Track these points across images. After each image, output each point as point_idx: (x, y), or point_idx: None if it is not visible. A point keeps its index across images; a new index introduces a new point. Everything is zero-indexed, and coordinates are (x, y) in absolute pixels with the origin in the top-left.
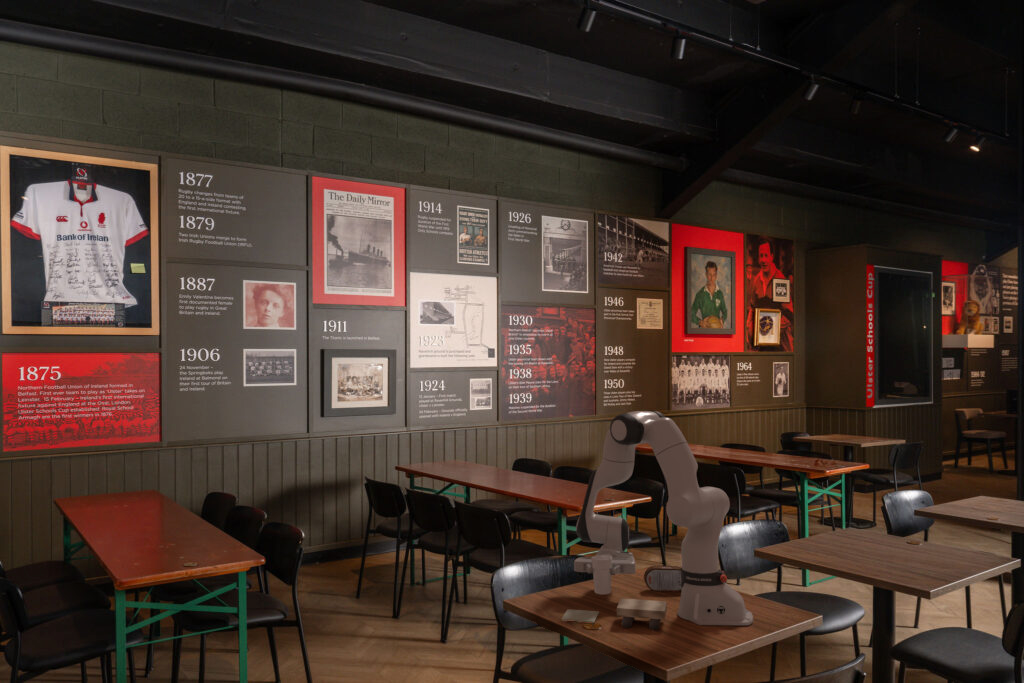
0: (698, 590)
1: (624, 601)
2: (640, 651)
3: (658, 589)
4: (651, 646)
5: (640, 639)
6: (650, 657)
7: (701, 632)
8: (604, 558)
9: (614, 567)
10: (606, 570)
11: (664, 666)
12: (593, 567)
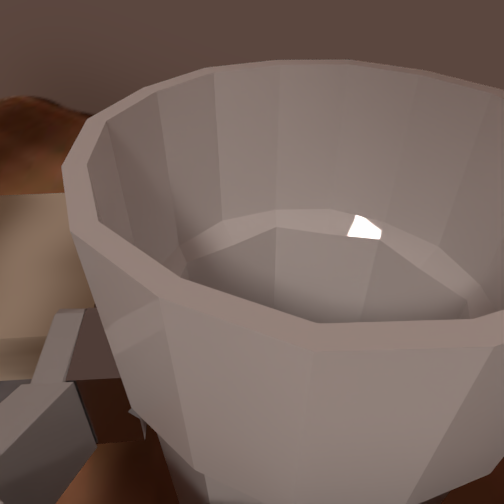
0: None
1: (64, 280)
2: (66, 137)
3: None
4: (21, 162)
5: (48, 191)
6: (43, 120)
7: None
8: (343, 391)
9: (62, 391)
10: (211, 256)
11: (18, 100)
12: (424, 225)
